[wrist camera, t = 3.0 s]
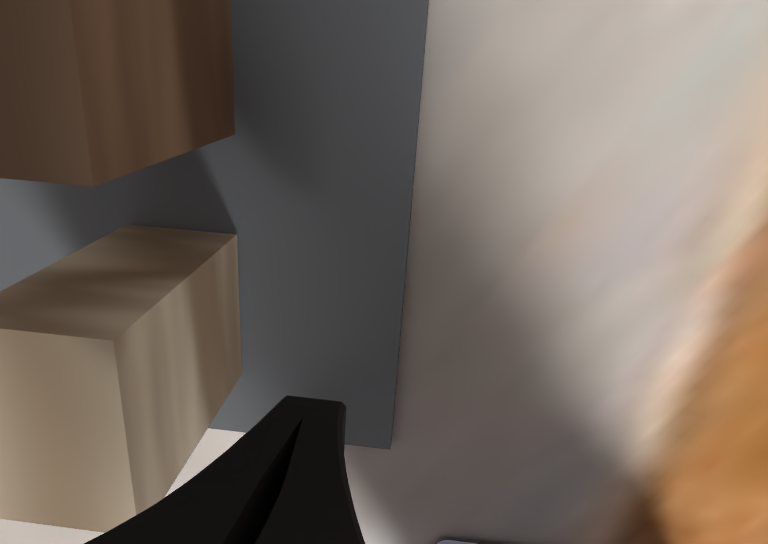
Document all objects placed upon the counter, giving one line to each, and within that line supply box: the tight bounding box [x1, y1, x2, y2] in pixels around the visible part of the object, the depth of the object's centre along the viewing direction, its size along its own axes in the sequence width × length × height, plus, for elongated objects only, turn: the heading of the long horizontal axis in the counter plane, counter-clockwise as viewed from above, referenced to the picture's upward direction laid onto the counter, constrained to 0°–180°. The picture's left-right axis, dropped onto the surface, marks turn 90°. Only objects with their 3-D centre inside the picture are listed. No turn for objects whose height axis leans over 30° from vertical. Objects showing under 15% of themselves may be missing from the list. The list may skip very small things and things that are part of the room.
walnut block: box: [0, 0, 235, 186], centre depth 12 cm, size 4×5×7 cm
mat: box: [0, 0, 429, 449], centre depth 17 cm, size 17×16×1 cm
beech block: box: [0, 224, 242, 533], centre depth 15 cm, size 4×5×7 cm
